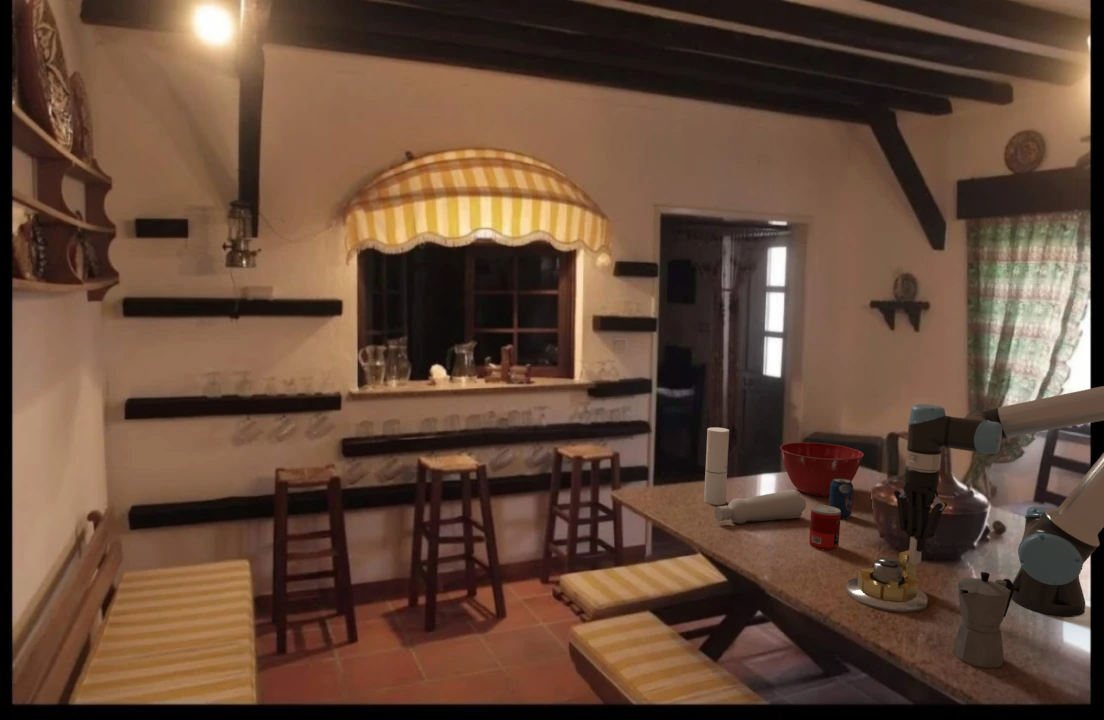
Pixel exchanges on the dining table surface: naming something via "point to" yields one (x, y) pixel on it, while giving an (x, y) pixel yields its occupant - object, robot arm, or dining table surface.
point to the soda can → (841, 496)
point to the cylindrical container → (716, 466)
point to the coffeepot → (982, 620)
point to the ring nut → (891, 582)
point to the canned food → (825, 527)
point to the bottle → (763, 507)
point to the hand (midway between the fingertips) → (914, 562)
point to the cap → (881, 573)
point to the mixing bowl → (819, 465)
